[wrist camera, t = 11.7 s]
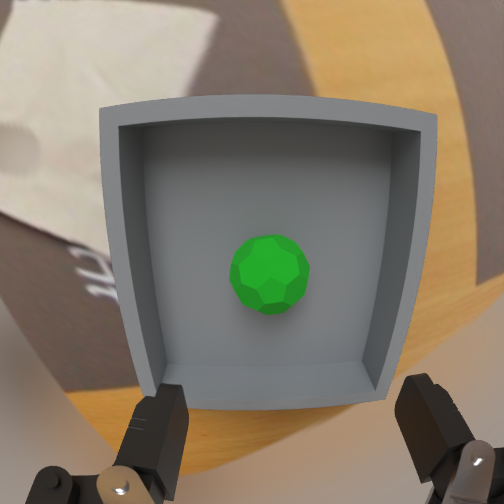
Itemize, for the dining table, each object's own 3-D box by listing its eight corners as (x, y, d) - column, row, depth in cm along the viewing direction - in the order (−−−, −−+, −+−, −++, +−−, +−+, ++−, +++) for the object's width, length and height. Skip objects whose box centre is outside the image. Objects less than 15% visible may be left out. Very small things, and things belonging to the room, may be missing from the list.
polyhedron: (219, 274, 22) (212, 308, 18) (251, 213, 21) (251, 233, 16) (281, 302, 23) (288, 340, 18) (316, 245, 21) (333, 273, 17)
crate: (401, 117, 19) (437, 114, 14) (368, 362, 26) (385, 399, 22) (130, 113, 19) (99, 108, 14) (159, 365, 26) (145, 404, 22)
